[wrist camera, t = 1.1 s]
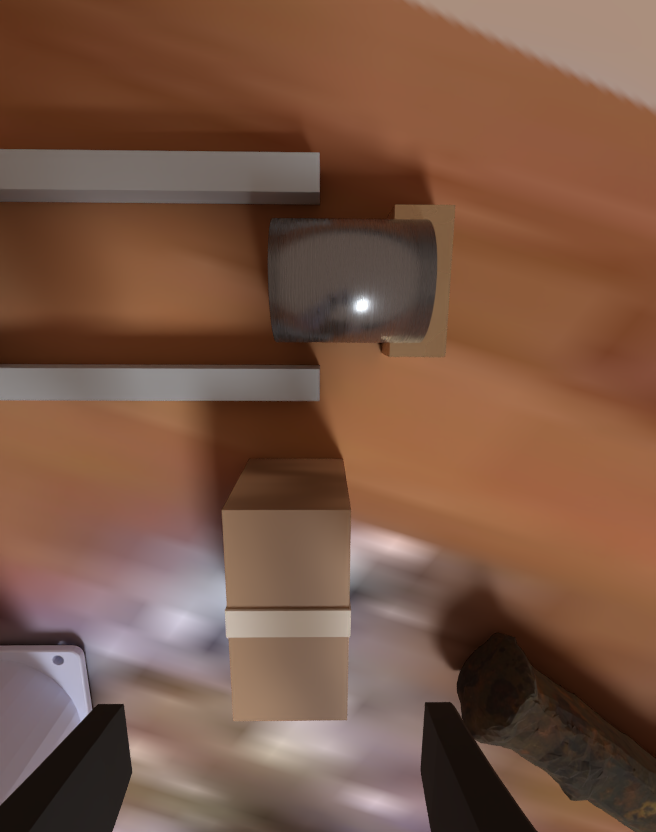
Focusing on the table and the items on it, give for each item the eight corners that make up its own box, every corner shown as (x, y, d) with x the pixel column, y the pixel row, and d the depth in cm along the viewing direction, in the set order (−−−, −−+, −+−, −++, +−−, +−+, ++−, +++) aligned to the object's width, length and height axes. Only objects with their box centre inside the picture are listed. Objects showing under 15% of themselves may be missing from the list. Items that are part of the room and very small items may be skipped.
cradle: (-24, 393, 17) (-57, 400, 15) (-65, 165, 15) (-107, 147, 14) (319, 394, 17) (319, 401, 16) (319, 168, 15) (319, 152, 14)
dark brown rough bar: (440, 670, 20) (473, 770, 16) (499, 617, 20) (551, 705, 15) (680, 850, 23) (766, 978, 19) (738, 809, 23) (841, 931, 18)
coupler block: (254, 621, 19) (231, 723, 14) (248, 458, 18) (219, 511, 13) (341, 620, 19) (348, 722, 14) (344, 458, 18) (352, 511, 13)
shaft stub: (282, 352, 17) (270, 361, 13) (279, 218, 16) (265, 183, 12) (430, 353, 17) (464, 362, 13) (438, 219, 16) (477, 185, 12)
